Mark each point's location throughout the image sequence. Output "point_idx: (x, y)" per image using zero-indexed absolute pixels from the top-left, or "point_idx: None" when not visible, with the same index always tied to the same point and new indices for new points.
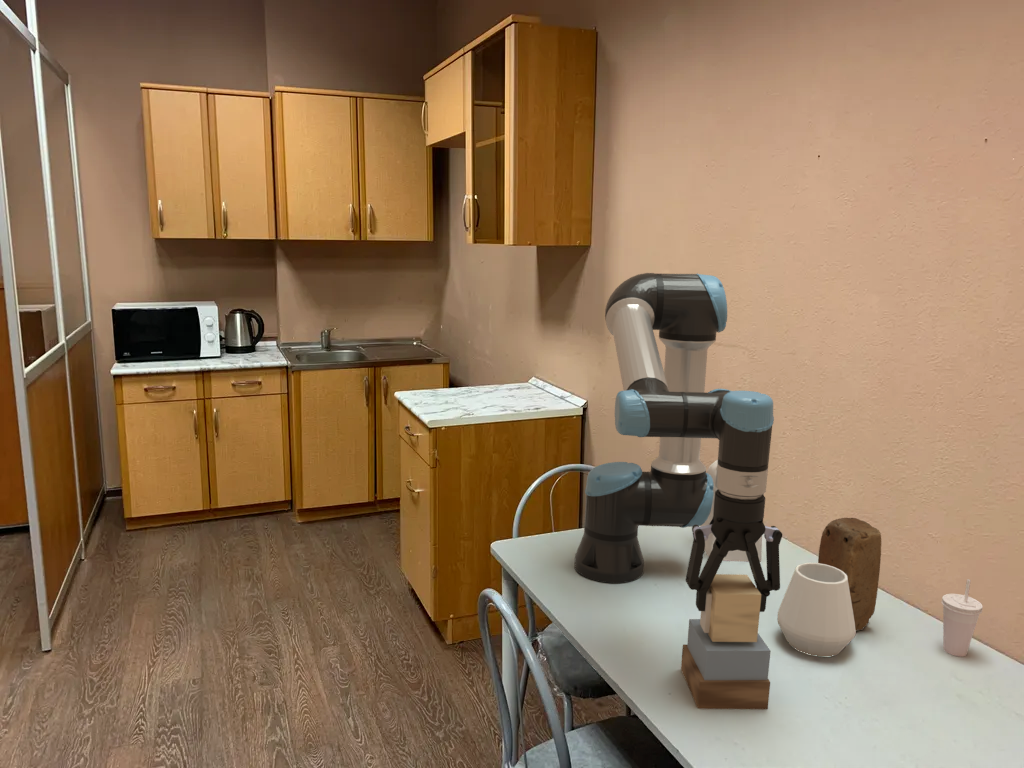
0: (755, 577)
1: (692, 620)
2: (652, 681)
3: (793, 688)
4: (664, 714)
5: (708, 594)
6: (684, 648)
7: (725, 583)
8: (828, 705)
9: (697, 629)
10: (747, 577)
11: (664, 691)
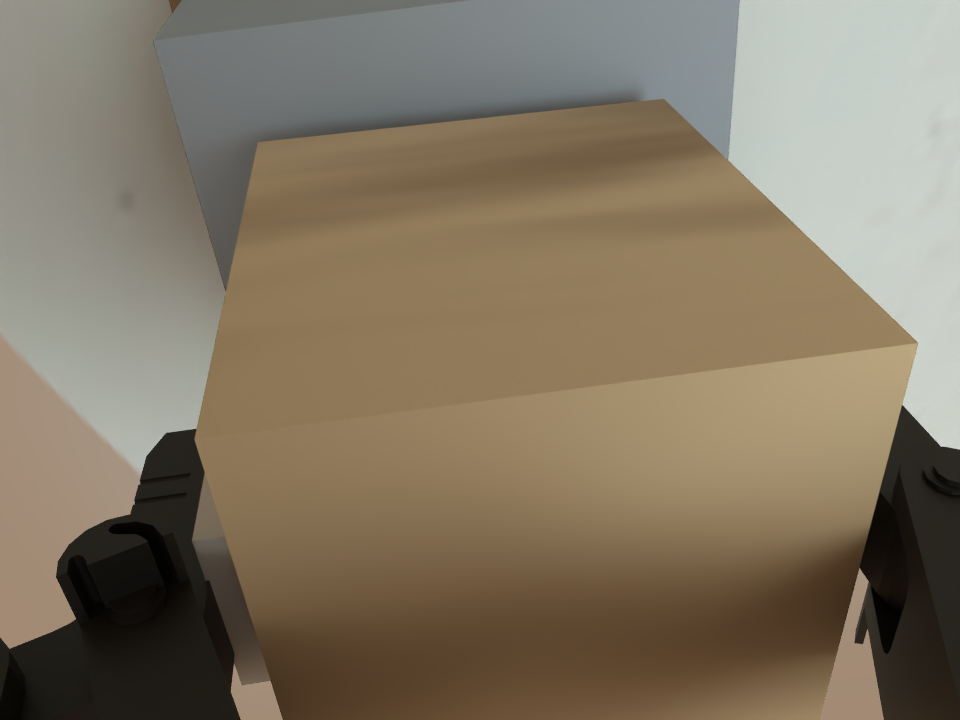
0: (906, 712)
1: (186, 67)
2: (10, 93)
3: (816, 65)
4: (112, 366)
5: (254, 677)
6: (172, 12)
7: (485, 634)
8: (906, 193)
9: (229, 228)
10: (873, 433)
11: (95, 185)
